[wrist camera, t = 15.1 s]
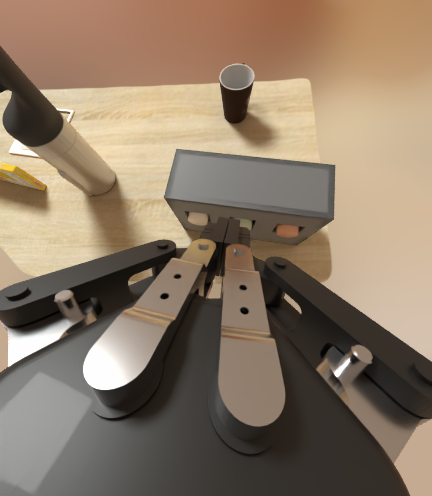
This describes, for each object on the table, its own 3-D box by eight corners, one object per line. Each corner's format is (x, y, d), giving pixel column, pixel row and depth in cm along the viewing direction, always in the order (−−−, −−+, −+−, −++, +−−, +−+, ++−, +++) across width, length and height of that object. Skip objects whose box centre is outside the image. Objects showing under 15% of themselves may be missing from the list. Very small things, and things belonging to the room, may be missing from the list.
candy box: (48, 185, 53) (16, 165, 45) (44, 191, 53) (11, 173, 45) (2, 173, 55) (-37, 152, 47) (-2, 179, 55) (-42, 159, 47)
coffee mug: (236, 131, 54) (238, 95, 44) (214, 116, 56) (212, 79, 46) (262, 106, 55) (269, 66, 46) (239, 92, 57) (242, 51, 48)
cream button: (208, 226, 40) (205, 219, 36) (189, 224, 40) (185, 216, 36) (213, 197, 41) (212, 187, 37) (196, 195, 42) (193, 185, 38)
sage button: (250, 232, 39) (252, 225, 35) (231, 229, 39) (231, 222, 35) (254, 202, 40) (256, 192, 37) (235, 200, 41) (236, 190, 37)
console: (296, 245, 45) (333, 219, 29) (184, 229, 47) (163, 197, 32) (299, 207, 47) (335, 165, 31) (192, 194, 50) (176, 148, 34)
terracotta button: (293, 238, 38) (301, 232, 34) (274, 235, 38) (279, 229, 34) (296, 207, 40) (303, 198, 36) (277, 205, 40) (282, 195, 36)
